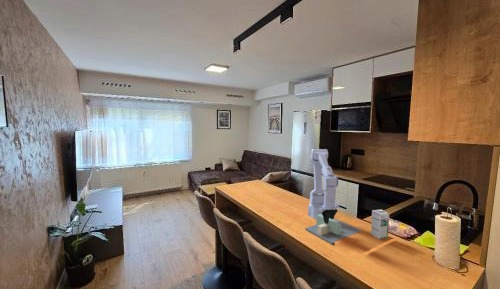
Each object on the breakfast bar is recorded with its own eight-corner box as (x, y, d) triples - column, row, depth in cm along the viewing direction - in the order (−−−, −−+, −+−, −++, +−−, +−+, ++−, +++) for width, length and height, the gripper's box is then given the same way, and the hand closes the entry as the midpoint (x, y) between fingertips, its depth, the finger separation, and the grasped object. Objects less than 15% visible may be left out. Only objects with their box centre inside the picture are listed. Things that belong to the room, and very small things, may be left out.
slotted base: (305, 229, 128) (305, 220, 127) (335, 220, 142) (335, 211, 141) (331, 244, 113) (332, 234, 112) (362, 232, 127) (363, 222, 126)
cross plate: (316, 224, 129) (316, 215, 129) (319, 223, 131) (320, 213, 130) (337, 234, 118) (337, 224, 117) (340, 233, 119) (341, 223, 119)
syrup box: (378, 241, 117) (381, 213, 116) (370, 235, 123) (372, 209, 122) (387, 239, 119) (390, 213, 117) (378, 234, 124) (380, 208, 123)
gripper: (326, 202, 115) (325, 228, 117) (344, 198, 123) (343, 222, 124) (316, 198, 121) (314, 222, 123) (333, 194, 129) (332, 217, 130)
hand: (328, 222), depth 124 cm, fingers closed on cross plate, 3 cm apart
